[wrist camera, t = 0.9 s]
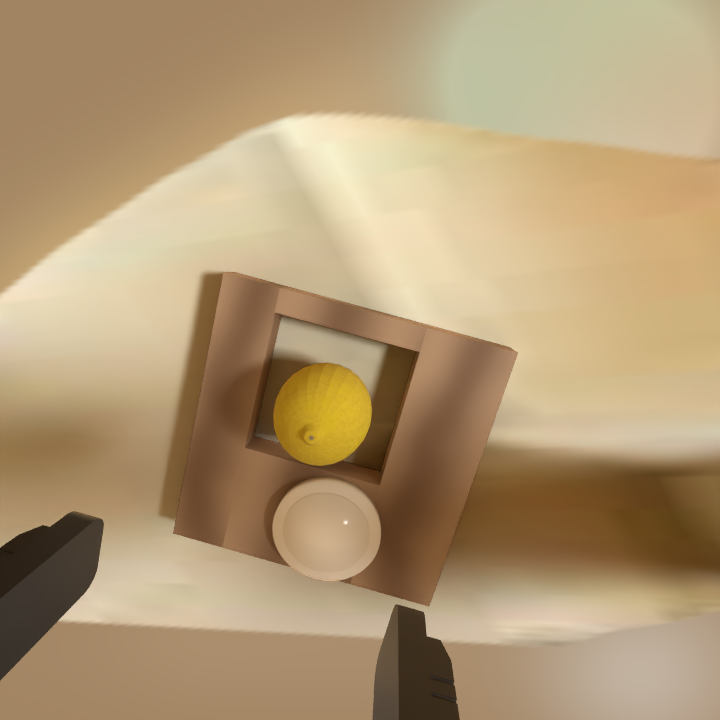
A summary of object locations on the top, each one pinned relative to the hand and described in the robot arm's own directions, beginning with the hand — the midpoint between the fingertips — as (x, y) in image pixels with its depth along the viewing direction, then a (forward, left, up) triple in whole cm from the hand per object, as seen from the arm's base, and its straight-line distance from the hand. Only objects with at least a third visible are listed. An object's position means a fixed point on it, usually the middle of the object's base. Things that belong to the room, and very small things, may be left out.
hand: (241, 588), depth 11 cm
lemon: (0, 0, -18) cm, 18 cm away
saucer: (-2, +8, -16) cm, 18 cm away
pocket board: (-1, +3, -18) cm, 18 cm away
